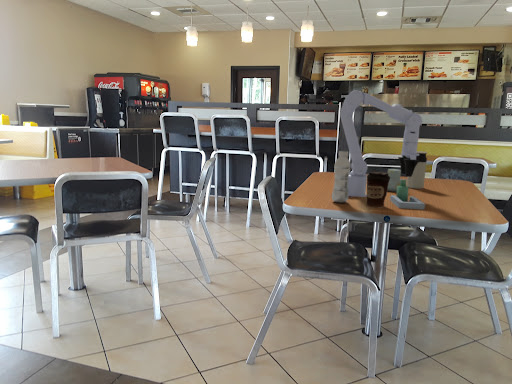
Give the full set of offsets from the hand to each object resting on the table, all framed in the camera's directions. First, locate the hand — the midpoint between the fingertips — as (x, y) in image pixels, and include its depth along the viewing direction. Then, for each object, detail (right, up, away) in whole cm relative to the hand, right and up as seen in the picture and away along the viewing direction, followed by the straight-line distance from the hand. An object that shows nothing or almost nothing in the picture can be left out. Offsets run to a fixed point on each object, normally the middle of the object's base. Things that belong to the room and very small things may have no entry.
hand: (406, 175), depth 167 cm
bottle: (-3, -11, -4) cm, 12 cm away
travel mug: (+16, -5, +32) cm, 36 cm away
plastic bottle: (-30, -11, -11) cm, 34 cm away
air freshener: (+1, -7, +20) cm, 21 cm away
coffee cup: (-18, -13, -15) cm, 27 cm away
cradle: (-4, -12, -10) cm, 17 cm away
